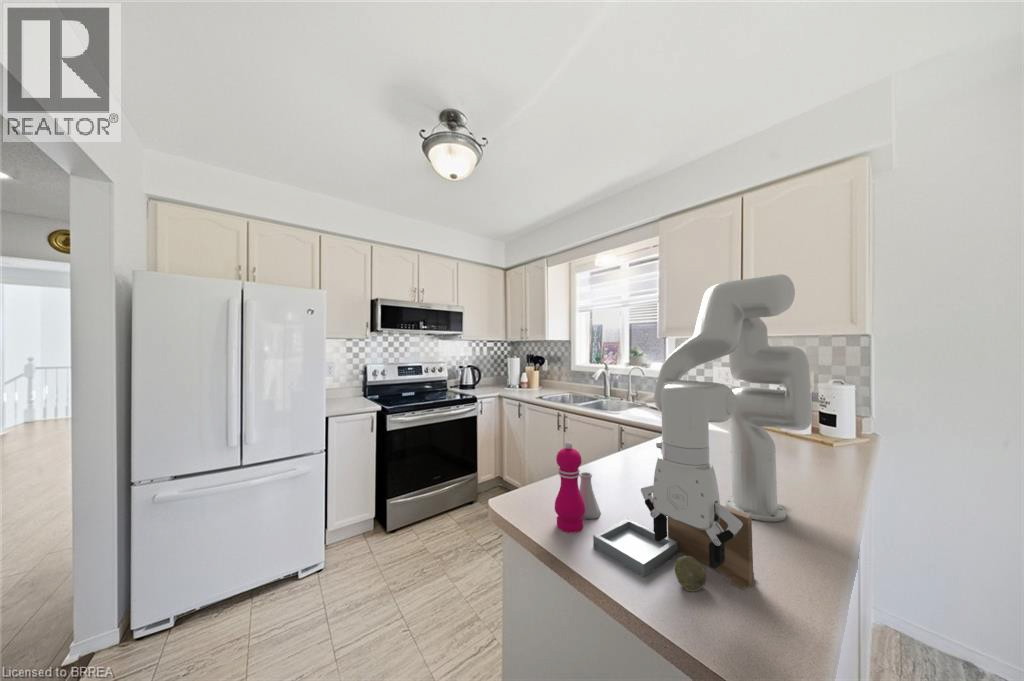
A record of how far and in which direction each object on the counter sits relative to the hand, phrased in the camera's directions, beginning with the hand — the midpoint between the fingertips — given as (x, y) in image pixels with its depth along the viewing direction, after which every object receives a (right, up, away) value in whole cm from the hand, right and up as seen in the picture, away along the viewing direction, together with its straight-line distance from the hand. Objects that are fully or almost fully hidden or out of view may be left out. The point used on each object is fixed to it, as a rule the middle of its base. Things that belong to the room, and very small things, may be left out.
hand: (686, 551), depth 59 cm
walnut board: (+7, -6, +6) cm, 12 cm away
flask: (-12, -8, +27) cm, 30 cm away
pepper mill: (-17, -7, +21) cm, 28 cm away
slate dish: (-5, -7, +11) cm, 14 cm away
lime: (+1, -7, 0) cm, 7 cm away
